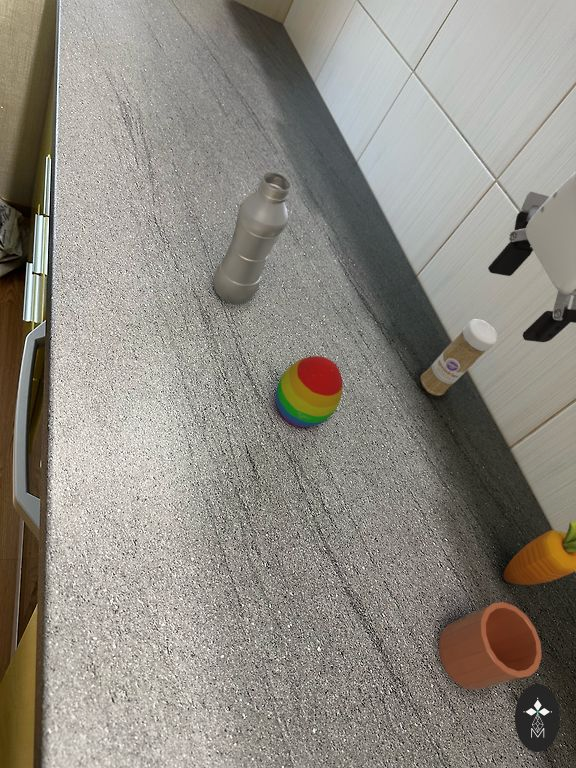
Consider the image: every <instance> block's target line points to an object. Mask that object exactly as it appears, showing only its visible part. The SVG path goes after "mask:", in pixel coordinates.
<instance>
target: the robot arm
mask: <svg viewBox="0 0 576 768" xmlns="http://www.w3.org/2000/svg"><path fill="white" fill-rule="evenodd" d="M508 241H509V242H508V243H507V245H506V246H505V247H504V248H503V249H502V250H501V252H500V253H499V254H498V255H497V256H496V258H494V260H493V261H492V262H491V263H490V264H489V265H488V268H487V269H488V272H489V273H490V274H494V275H499V276H500V275H501V276H505V277H511V276H512V275H514V274H515V272H516V271H517V270H518V269H519V268H520V267H521V266H522V265H523V263H524V262H525V261H526V260H527V259H529V257H530V256H531V255H532V253H533V252H534V254H535V255H536V257H537V259H538V260H539V262H540V264H541V266H542V268H543V269H544V271H545V273H546V275H547V276H548V278H549V280H550V281H551V283H552V284H553V287H554V288H555V289H556V290H557V294H556V297H555V302H554V305H553V310H546V311H544V312H543V313H542V314H541V315H540V316H539V317H538V318H537V319H536V320H534V322H532V324H530V325H529V326H528V328H526V329H525V330H524V331H523V333H522V338H523V340H524V341H528V342H536V343H547V342H550V341H552V340H553V339H554V338H555V337H556V336H557V335H558V334H560V333H561V332H562V331H563V330H564V329H565V328H567V326H568V325H569V324H571V323H574V324H576V171H574V172H573V174H571V175H570V176H569V177H568V178H567V179H566V180H565V181H564V182H563V183H562V184H560V186H558V188H557V189H555V190H554V192H553V193H552V194H551V195H550V196H549V195H547V194H546V195H545V194H543V193H538V192H535V191H529V192H527V194H526V196H525V198H524V201H523V203H522V206H521V211H519V212H518V213H517V215H516V219H515V223H514V229H513V230H512V231H511V232H510V233H509V235H508ZM572 296H573V298H572V302H571V305H570V301H571V297H572ZM569 306H570V308H569Z"/></svg>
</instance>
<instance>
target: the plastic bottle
mask: <svg viewBox="0 0 576 768" xmlns="http://www.w3.org/2000/svg"><path fill="white" fill-rule="evenodd" d="M291 187H292V183H291V182H290V180H289V179H288V178H287V177H285V175H282V174H281V173H278V172H276V171H267V172H265V173H264V174H263V175H262V177H261V179H260V182H259V183H258V186H257V191H254V192H253V193H251V194H249V195H248V196H246V197H245V199H243V201H242V202H241V203H240V204H239V208H238V211H237V216H236V221H235V227H234V231H233V234H232V238H231V241H230V244H229V246H228V249H227V250H226V253H225V254H224V257H223V258H222V259H221V261H220V262H219V264H218V265H217V268H216V269H215V271H214V273H213V281H212V285H213V288H214V291H215V292H216V294H217V295H218V296H219V298H221V299H222V300H223V301H226V302H229V303H232V304H242V303H246V302H248V301H250V300H252V298H253V297H254V296H255V295H256V293H257V292H258V290H259V287H260V282H261V278H262V273H263V270H264V267H265V264H266V262H267V259H268V258H269V255H270V254H271V252H272V250H273V248H274V246H275V245H276V243H277V242H278V241H279V239H280V238H281V236H282V234H283V233H284V232H285V230H286V228H287V226H288V223H289V214H288V209H287V206H286V202H287V200H288V198H289V193H290V191H291V189H292V188H291Z"/></svg>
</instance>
